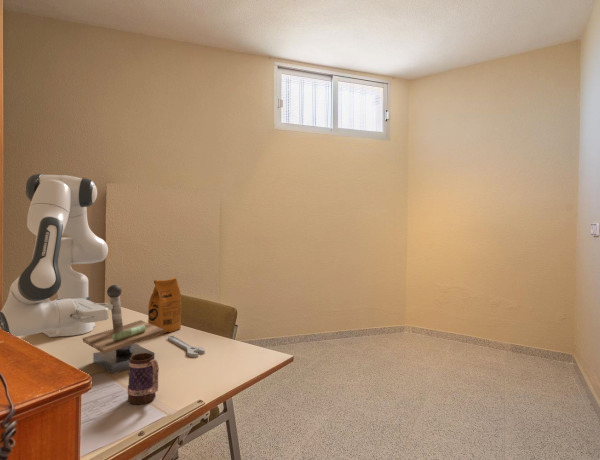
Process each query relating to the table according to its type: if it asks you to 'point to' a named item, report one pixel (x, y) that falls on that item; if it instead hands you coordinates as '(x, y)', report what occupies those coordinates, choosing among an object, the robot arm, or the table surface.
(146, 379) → the mug
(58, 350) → the table surface
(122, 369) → the stand
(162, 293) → the coffee package
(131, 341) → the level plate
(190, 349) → the adjustable wrench
